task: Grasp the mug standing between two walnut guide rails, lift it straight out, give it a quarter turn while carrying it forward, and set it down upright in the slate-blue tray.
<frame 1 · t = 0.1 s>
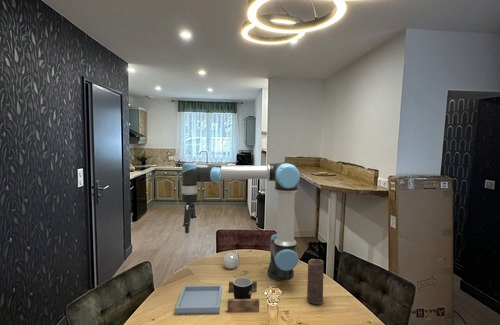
hand: (189, 234, 139), 28 cm above the table, fingers open, 13 cm apart
tray: (200, 301, 128), on the table
mug: (243, 301, 130), on the table
candle: (314, 302, 129), on the table
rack: (243, 300, 130), on the table
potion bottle: (231, 266, 167), on the table
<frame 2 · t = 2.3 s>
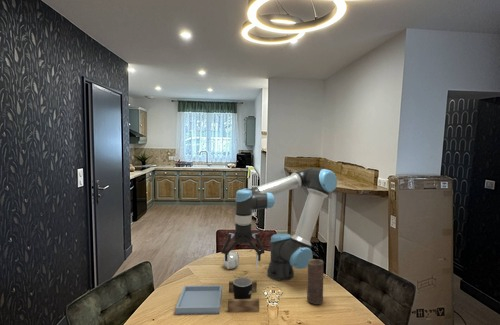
hand: (242, 267, 128), 16 cm above the table, fingers open, 13 cm apart
nothing on the table moved.
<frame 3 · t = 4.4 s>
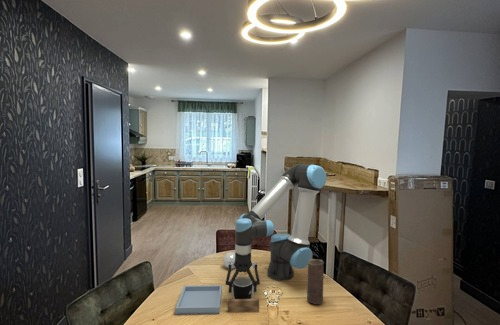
hand: (242, 298, 129), 1 cm above the table, fingers closed on mug, 9 cm apart
mug: (243, 301, 130), on the table, touching gripper
everything else where it was.
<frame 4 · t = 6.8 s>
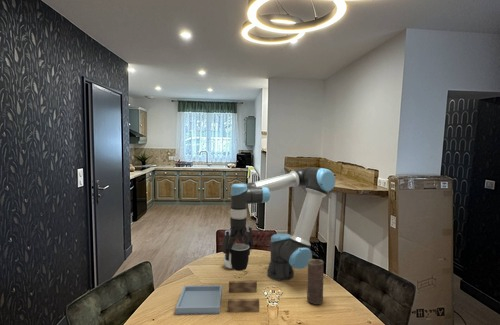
hand: (237, 264, 128), 18 cm above the table, fingers closed on mug, 9 cm apart
mug: (238, 267, 128), point 17 cm above the table, touching gripper
everything else where it was.
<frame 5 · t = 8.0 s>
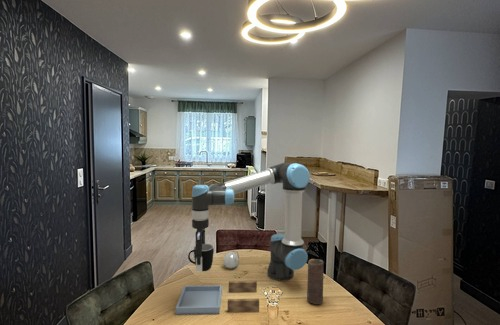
hand: (200, 266, 127), 17 cm above the table, fingers closed on mug, 9 cm apart
mug: (200, 268, 127), point 16 cm above the table, touching gripper
everything else where it was.
when the fingers open (3 cm above the table, at t = 11.4 s): mug drops 2 cm, resting on tray.
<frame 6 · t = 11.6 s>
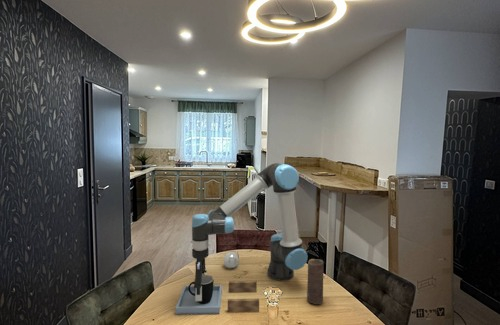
hand: (200, 293, 128), 4 cm above the table, fingers open, 11 cm apart
mug: (200, 300, 128), point 1 cm above the table, touching tray
everything else where it was.
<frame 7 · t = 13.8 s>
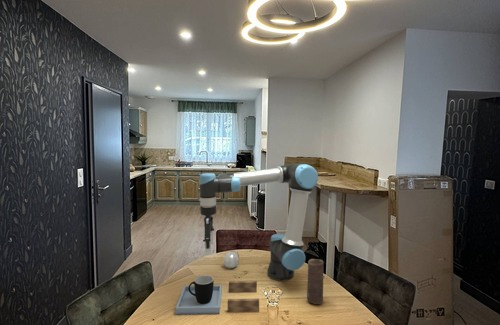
hand: (209, 249, 132), 24 cm above the table, fingers open, 13 cm apart
nothing on the table moved.
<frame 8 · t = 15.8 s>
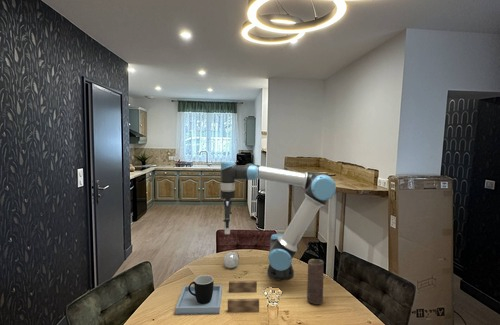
hand: (227, 229, 145), 29 cm above the table, fingers open, 13 cm apart
nothing on the table moved.
at the end: mug inside the target area on the tray (0.2 cm from its centre), point 0.6 cm above the tray's base; mug tilted 0°; the gripper is holding nothing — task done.
